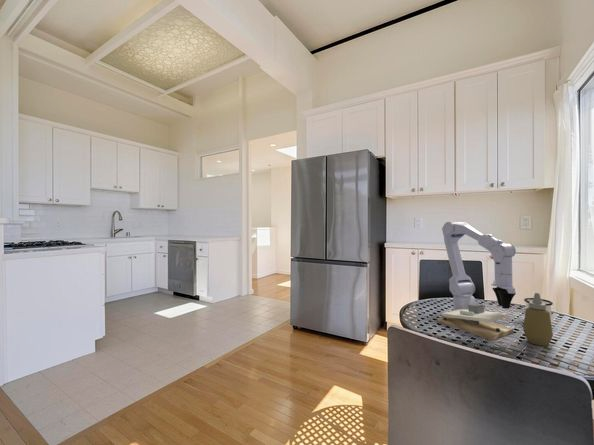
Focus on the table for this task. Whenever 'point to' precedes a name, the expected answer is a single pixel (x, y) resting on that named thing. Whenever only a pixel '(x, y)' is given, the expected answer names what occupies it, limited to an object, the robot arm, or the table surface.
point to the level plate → (475, 314)
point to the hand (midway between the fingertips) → (503, 307)
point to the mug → (548, 303)
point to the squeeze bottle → (537, 323)
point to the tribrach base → (477, 327)
